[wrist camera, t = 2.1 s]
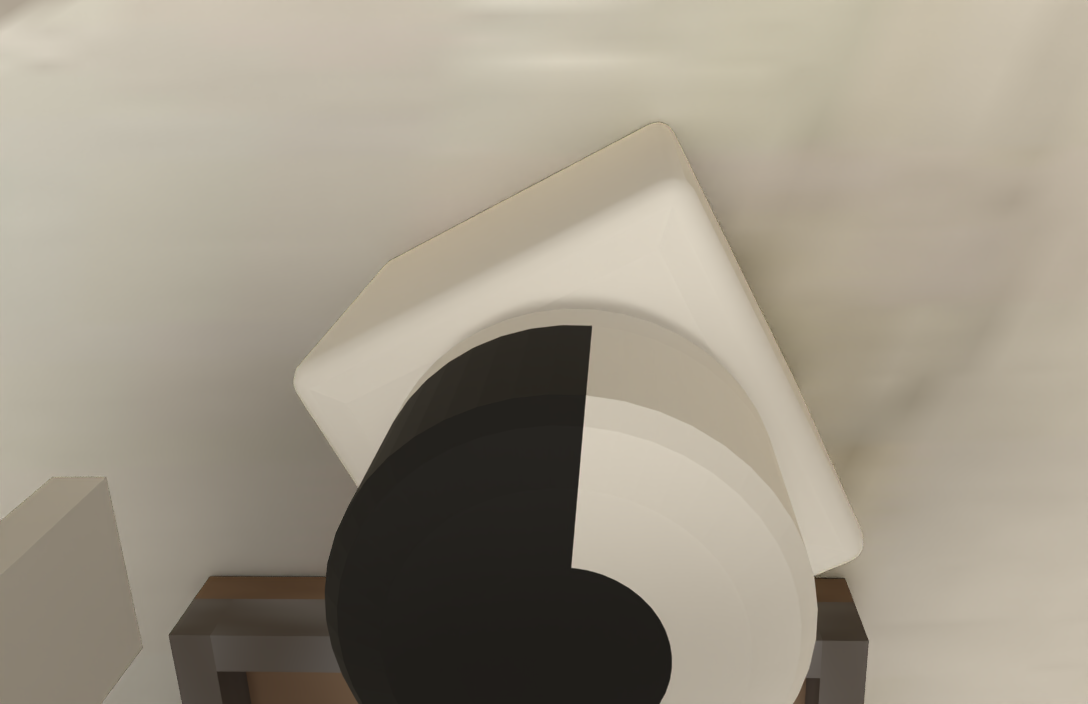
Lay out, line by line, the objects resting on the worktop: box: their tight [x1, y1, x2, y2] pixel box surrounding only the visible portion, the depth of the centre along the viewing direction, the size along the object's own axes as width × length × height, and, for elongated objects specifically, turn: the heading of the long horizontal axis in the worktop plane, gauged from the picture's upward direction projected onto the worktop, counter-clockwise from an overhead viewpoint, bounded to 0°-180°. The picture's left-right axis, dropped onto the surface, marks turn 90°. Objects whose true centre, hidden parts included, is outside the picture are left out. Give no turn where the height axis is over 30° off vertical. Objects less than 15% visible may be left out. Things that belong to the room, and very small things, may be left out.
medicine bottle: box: [293, 122, 864, 704], centre depth 17 cm, size 7×7×12 cm
